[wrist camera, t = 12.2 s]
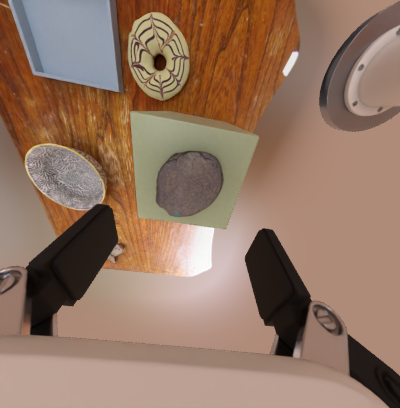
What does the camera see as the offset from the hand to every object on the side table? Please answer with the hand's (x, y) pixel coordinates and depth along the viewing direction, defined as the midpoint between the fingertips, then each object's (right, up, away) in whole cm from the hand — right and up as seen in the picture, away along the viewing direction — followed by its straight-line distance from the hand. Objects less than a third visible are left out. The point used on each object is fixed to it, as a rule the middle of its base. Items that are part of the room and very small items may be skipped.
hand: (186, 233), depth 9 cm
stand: (0, +16, +25) cm, 30 cm away
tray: (-21, +31, +16) cm, 41 cm away
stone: (0, +4, +7) cm, 8 cm away
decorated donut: (-6, +28, +18) cm, 34 cm away
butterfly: (-32, -17, +47) cm, 59 cm away
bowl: (-29, +11, +29) cm, 42 cm away
